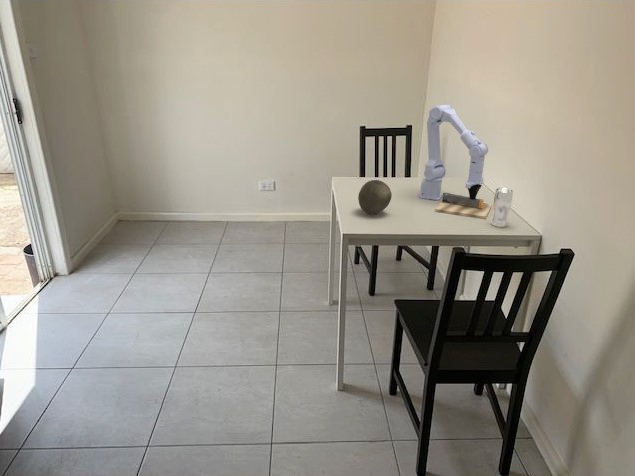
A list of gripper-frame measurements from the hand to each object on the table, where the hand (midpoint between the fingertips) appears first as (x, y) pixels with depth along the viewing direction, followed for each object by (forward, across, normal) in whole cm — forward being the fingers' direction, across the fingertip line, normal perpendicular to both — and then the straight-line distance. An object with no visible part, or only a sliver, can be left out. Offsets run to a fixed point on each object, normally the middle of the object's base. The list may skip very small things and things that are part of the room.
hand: (472, 199), depth 215 cm
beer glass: (+4, -12, -18) cm, 22 cm away
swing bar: (+2, -2, +4) cm, 5 cm away
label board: (+4, -4, +2) cm, 6 cm away
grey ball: (+4, -34, +30) cm, 46 cm away
